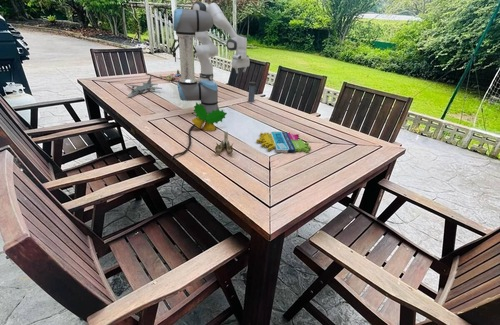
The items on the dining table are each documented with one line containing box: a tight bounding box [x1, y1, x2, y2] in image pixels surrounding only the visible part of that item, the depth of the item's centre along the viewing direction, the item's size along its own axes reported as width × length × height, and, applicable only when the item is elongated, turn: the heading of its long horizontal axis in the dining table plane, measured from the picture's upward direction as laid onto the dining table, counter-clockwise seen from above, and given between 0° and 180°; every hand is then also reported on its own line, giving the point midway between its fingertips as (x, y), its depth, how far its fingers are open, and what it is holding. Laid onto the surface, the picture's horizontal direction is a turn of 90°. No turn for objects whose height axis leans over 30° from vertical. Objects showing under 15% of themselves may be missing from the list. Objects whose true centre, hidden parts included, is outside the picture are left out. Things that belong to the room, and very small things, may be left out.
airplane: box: [127, 75, 162, 98], centre depth 225 cm, size 38×32×10 cm
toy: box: [159, 69, 181, 82], centre depth 278 cm, size 28×7×30 cm
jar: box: [247, 84, 256, 103], centre depth 219 cm, size 5×5×16 cm
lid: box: [248, 81, 257, 87], centre depth 216 cm, size 6×6×2 cm
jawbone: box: [214, 131, 234, 156], centre depth 136 cm, size 9×15×10 cm
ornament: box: [191, 101, 228, 132], centre depth 162 cm, size 21×8×15 cm, turn 105°
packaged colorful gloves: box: [256, 131, 312, 154], centre depth 152 cm, size 26×2×30 cm
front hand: (184, 61), depth 211 cm, fingers open, 13 cm apart
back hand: (240, 72), depth 230 cm, fingers open, 8 cm apart
